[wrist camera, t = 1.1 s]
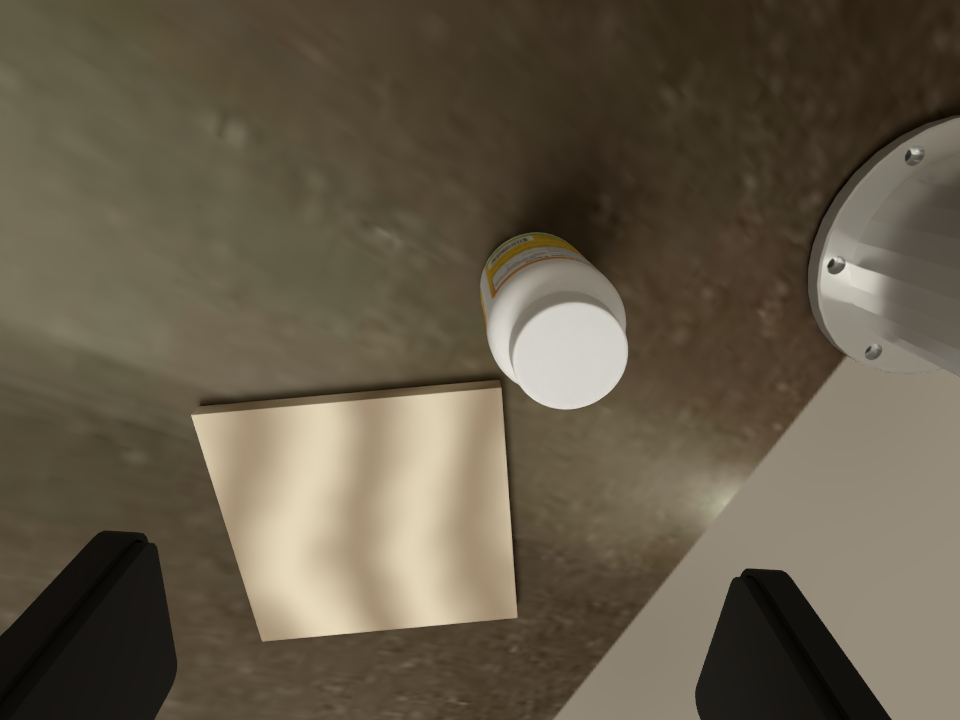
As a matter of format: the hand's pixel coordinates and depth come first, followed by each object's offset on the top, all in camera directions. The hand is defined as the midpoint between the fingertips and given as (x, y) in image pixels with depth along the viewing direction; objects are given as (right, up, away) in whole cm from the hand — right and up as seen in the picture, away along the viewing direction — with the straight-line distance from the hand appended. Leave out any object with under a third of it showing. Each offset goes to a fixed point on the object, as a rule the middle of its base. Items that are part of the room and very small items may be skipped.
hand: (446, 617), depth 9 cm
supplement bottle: (+3, +8, +19) cm, 21 cm away
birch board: (-6, -5, +23) cm, 25 cm away
